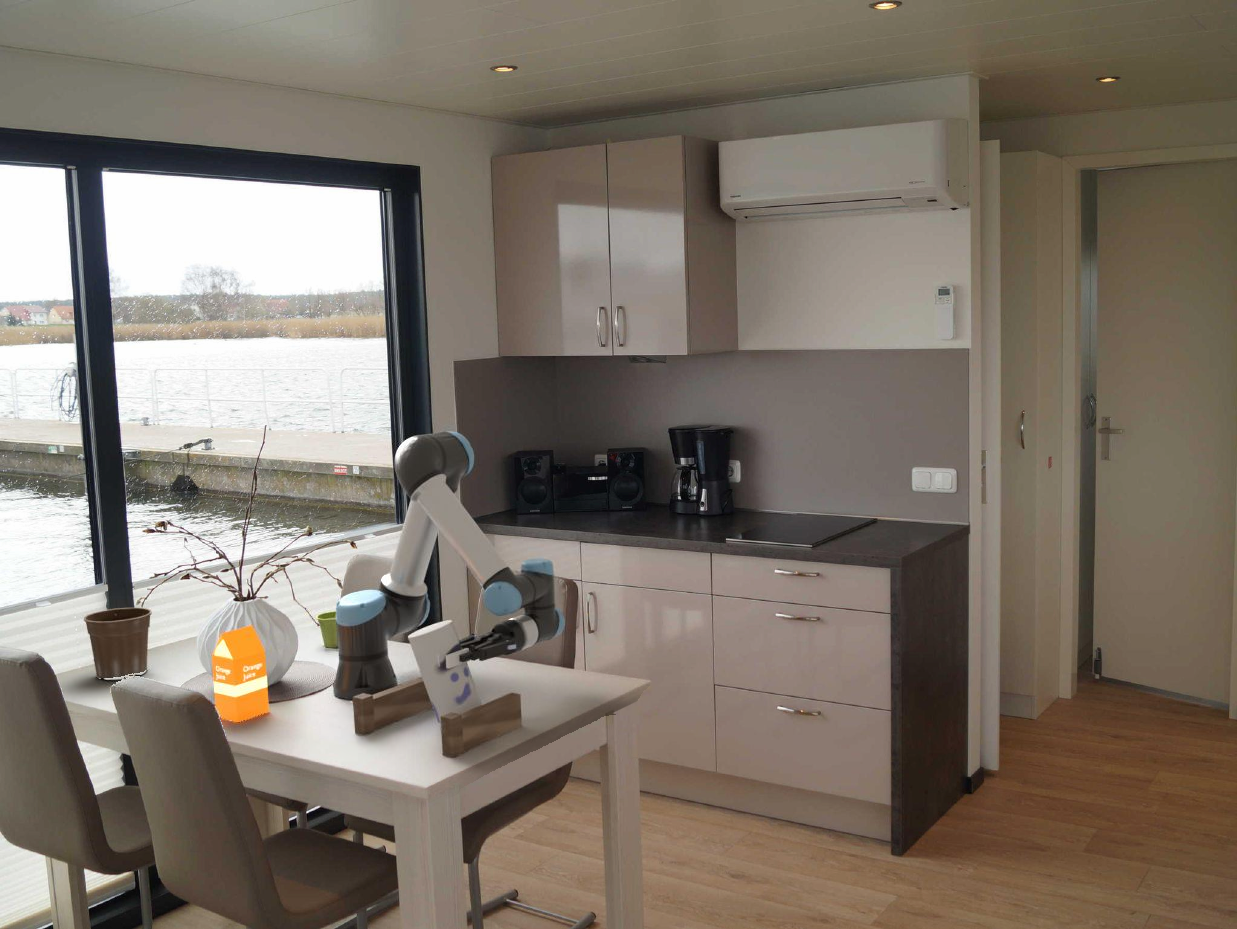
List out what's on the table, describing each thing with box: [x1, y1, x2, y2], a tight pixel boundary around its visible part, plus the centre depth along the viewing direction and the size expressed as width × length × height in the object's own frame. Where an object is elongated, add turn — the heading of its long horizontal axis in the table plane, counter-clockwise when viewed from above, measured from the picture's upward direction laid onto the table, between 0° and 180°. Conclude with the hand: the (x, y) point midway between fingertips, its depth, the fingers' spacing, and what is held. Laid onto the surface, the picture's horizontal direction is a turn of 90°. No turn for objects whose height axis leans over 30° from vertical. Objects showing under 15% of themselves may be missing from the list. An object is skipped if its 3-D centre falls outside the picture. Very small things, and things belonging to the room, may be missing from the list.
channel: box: [352, 676, 523, 758], centre depth 244 cm, size 29×22×8 cm
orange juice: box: [211, 624, 270, 723], centre depth 258 cm, size 8×9×20 cm
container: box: [407, 619, 483, 724], centre depth 245 cm, size 10×10×20 cm
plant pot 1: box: [83, 607, 153, 678], centre depth 295 cm, size 16×16×16 cm
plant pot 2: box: [315, 610, 338, 649], centre depth 318 cm, size 9×9×9 cm
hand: (442, 661), depth 239 cm, fingers closed on container, 2 cm apart
